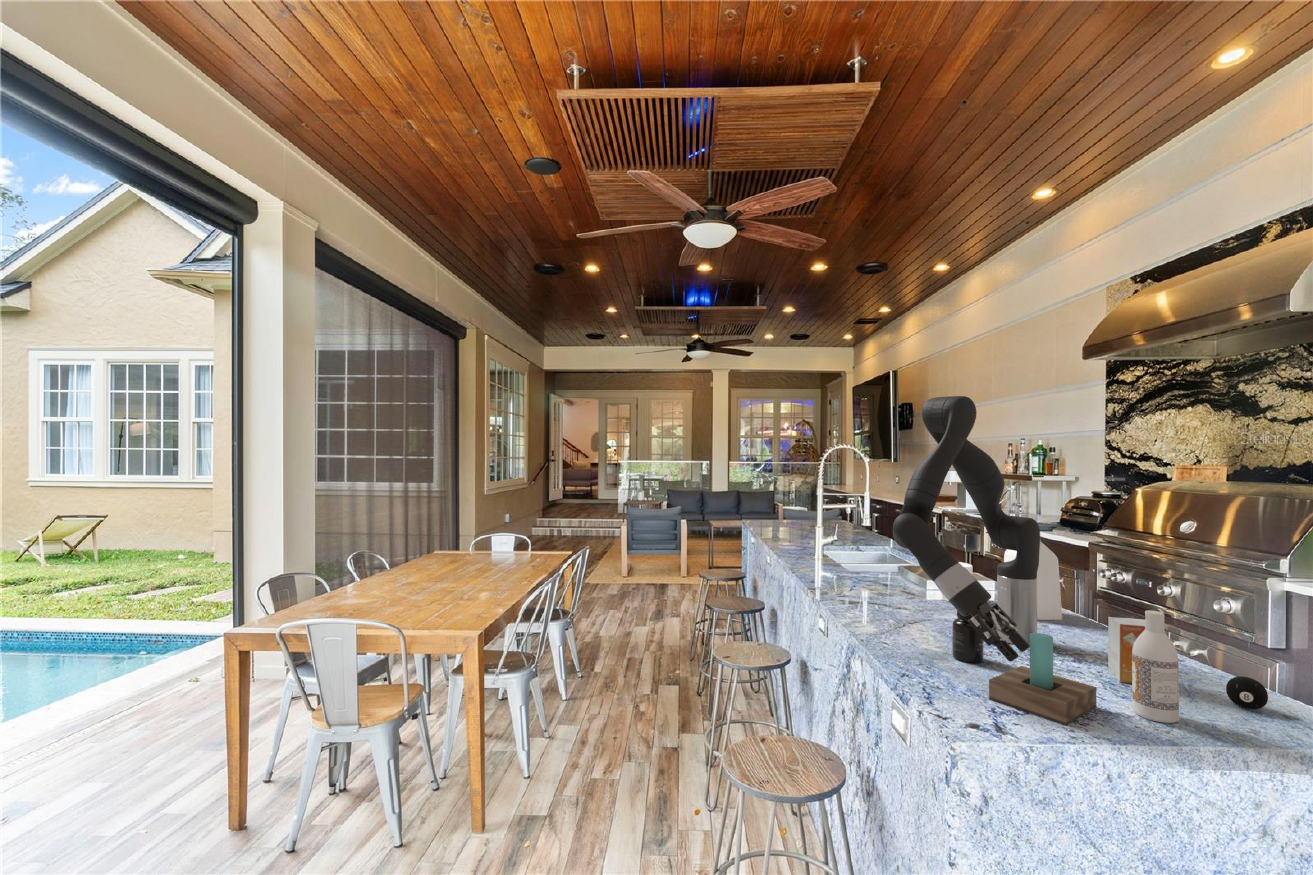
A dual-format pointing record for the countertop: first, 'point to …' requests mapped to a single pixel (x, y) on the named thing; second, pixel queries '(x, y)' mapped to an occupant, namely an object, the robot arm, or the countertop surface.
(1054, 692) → the bore block
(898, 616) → the countertop surface
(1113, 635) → the small box
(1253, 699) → the billiard ball
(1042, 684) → the pin
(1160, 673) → the bath foam
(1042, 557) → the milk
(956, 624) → the supplement bottle
